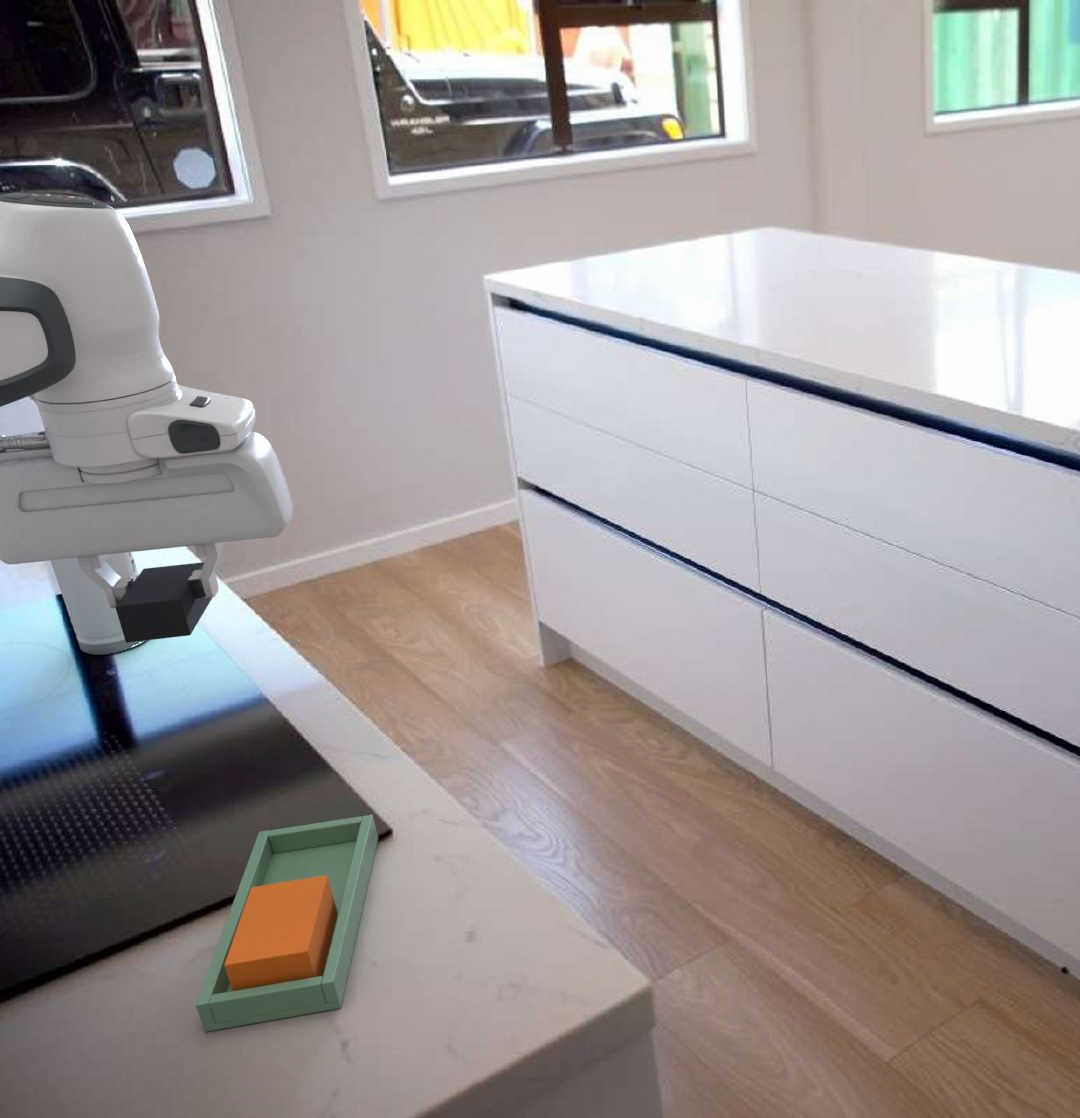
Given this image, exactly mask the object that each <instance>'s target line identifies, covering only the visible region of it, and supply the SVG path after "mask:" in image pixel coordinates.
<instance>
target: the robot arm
mask: <svg viewBox="0 0 1080 1118" xmlns="http://www.w3.org/2000/svg"><path fill="white" fill-rule="evenodd" d="M30 396H34V399H35V403H36V405H37V409H38V412H39V415H40V419H41V422H42V425H43V428H44V430H43V431H35V432H25V433H21V434H16V435H6V436H5V435H0V561H1V562H3V563H4V564H6V565H20V564H30V563H38V562H48V561H50V560H60V559H69V558H78V562H79V565H80V568H81V571H82V572H84V573H85V574H86V575H87V576H88V577H89V578H91V579H92V580H93V581H94V582H95V583H96V584H97V585H99V586H100V587H101V588H102V589H104V590H105V593H106V596H107V599H108V603H109V606H110V607H111V608H115V606H116V605H117V604H118V602H119V601H120V600H121V598H122V597H123V596H124V594H125V593H126V592H127V591H128V589H129V588H130V586H131V585H132V584H133V583H134V581H133V578H132V577H128V578H121V577H120V576H119V575H118V574H117V573H116V572H115V571H114V570H113V569H112V568H111V567H110V566H109V565H108V564H107V563H106V562H105V561H106V560H107V559H108V557H109V556H110V554H117V553H127V552H132V553H134V552H135V553H136V552H145V551H154V550H155V551H156V550H165V549H173V548H183V547H192V546H193V547H194V549H195V553H196V556H197V557H198V558H205V561H204V566H203V568H202V570H194V571H193V573H192V576H190V577H189V579H188V583H189V585H190V587H191V589H192V590H193V591H192V594H193V597H194V598H195V599H200V598H209V597H213V598H214V597H215V598H216V595H217V594H218V593H219V582H218V580H217V574H216V568H217V565H218V563H219V560H220V557H221V555H222V552H223V549H224V546H225V543H229V542H230V543H231V542H240V541H241V542H242V541H249V540H260V539H268V538H269V539H270V538H276V537H278V536H280V535H281V534H282V533H283V532H284V530H285V529H286V527H287V526H288V525H289V523H290V521H291V519H292V518H293V512H294V507H293V502H292V501H293V500H292V497H291V494H290V489H289V485H288V483H287V479H286V477H285V474H284V471H283V469H282V466H281V464H280V461H279V459H278V456H277V454H276V452H275V450H274V448H273V446H272V445H271V443H270V442H269V441H268V440H267V438H265V437H264V436H263V435H261V434H260V433H257V432H256V431H253V429H254V427H255V423H256V420H257V418H256V417H257V416H256V409H255V407H254V405H253V403H252V402H251V401H250V400H249V399H246V398H243V397H239V396H234V395H228V394H223V393H217V392H213V391H208V390H202V389H198V388H192V387H189V386H184V385H180V384H178V382H177V377H176V374H175V371H174V368H173V366H172V365H171V363H170V361H169V359H168V358H167V356H166V355H165V352H164V350H163V348H162V344H161V340H160V312H159V309H158V304H157V301H156V297H155V294H154V290H153V287H152V284H151V279H150V277H149V273H148V270H147V268H146V265H145V262H144V259H143V256H142V253H141V250H140V248H139V246H138V243H137V241H136V238H135V236H134V233H133V232H132V230H131V228H130V226H129V224H128V222H127V220H126V219H125V217H124V216H123V215H122V214H121V213H120V212H118V211H117V210H116V209H115V208H114V207H112V206H110V205H109V204H106V203H105V202H102V201H100V200H98V199H94V198H90V197H85V196H81V195H77V196H76V195H67V194H63V193H46V192H11V193H4V194H0V408H1V407H4V406H6V405H9V404H12V403H15V402H18V401H20V400H23V399H26V398H27V397H30ZM50 562H51V561H50Z"/></svg>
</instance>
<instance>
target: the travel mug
mask: <svg viewBox="0 0 1080 1118" xmlns="http://www.w3.org/2000/svg"><path fill="white" fill-rule="evenodd" d="M133 555H134V554H133V552H127V553H117V554H110V556H109V557H108V559H107V560H106V561H105V562H106V563H107V564H108V565H109V566H110V567H111V568H112V569H113V570H114V571H115V572H116V573H117V574H118V575H119V576H120V577H121V578H128V577H132V578H133V581H135V580H136V578H137V577H138V576H139V572H138V569H137V566H136V561H135V559H134V556H133ZM50 564H51V566H52V569H53V573H54V575H55V578H56V581H57V584H58V587H59V590H60V592H61V596H62V598H63V602H64V604H65V606H66V611H67V613H68V616H69V619H70V621H71V625H72V628H73V631H74V633H75V636H76V640H77V643H78V646H79V648H80V650H81V651H82V652H84V653H86V654H89V655H94V656H106V655H112V654H111V653H114V654H118V653H117V652H119V651H122V652H124V651H123V650H125V649H128V648H131V647H132V646H133V645H136V644H139V642H143V641H137V642H128V643H126V641H125V638H124V634H123V631H122V628H121V625H120V621H119V618H118V615H117V611H116V608H111V607H110V606H109V603H108V599H107V596H106V593H105V590H104V589H102V588H101V587H100V586H99V585H97V584H96V583H95V582H94V581H93V580H92V579H91V578H89V577H88V576H87V575H86V574H85V573H84V572H82V571H81V568H80V565H79V562H78V558H69V559H60V560H50ZM119 653H120V652H119Z"/></svg>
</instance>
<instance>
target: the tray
mask: <svg viewBox="0 0 1080 1118" xmlns="http://www.w3.org/2000/svg"><path fill="white" fill-rule="evenodd" d="M378 841H379V834H378V831H377V826H376V823H375V820H374V815H373V814H369V815H363V816H354V817H348V818H341V819H335V820H328V821H322V822H315V823H309V824H304V825H295V826H290V827H289V826H288V827H283V828H277V829H271V830H269V829H268V830H263V831H259V832H258V834H257V837H256V839H255V842H254V844H253V847H252V850H251V853H250V856H249V858H248V860H247V864H246V867H245V869H244V872H243V875H242V877H241V880H240V883H239V885H238V888H237V891H236V894H235V897H234V899H233V901H232V905H231V908H230V910H229V913H228V916H227V919H226V921H225V924H224V927H223V930H222V932H221V935H220V938H219V940H218V943H217V946H216V949H215V952H214V954H213V957H212V960H211V963H210V965H209V968H208V970H207V973H206V976H205V979H204V981H203V984H202V987H201V990H200V992H199V995H198V998H197V1001H196V1003H195V1008H196V1010H197V1014H198V1016H199V1020H200V1022H201V1025H202V1028H203V1030H204V1031H203V1032H204V1033H208V1032H213V1031H219V1030H224V1029H225V1030H226V1029H229V1028H230V1029H231V1028H236V1027H242V1026H247V1025H252V1024H258V1023H264V1022H270V1021H275V1020H281V1019H286V1018H287V1019H288V1018H293V1017H298V1016H305V1015H310V1014H315V1013H321V1012H327V1011H333V1010H338V1009H341V1008H342V1005H343V1000H344V996H345V992H346V987H347V982H348V977H349V973H350V968H351V963H352V959H353V955H354V950H355V947H356V941H357V937H358V932H359V927H360V923H361V918H362V914H363V909H364V905H365V901H366V896H367V891H368V887H369V884H370V883H369V882H370V879H371V874H372V869H373V865H374V860H375V855H376V851H377V847H378ZM326 875H327V876H328V879H329V883H330V887H331V890H332V894H333V898H334V901H335V905H336V909H337V912H338V914H337V918H336V922H335V926H334V930H333V934H332V938H331V942H330V947H329V951H328V955H327V959H326V963H325V967H324V971H323V975H322V976H319V977H313V978H307V979H301V980H295V981H289V982H284V983H278V984H272V985H266V986H260V987H254V988H249V989H243V990H237V991H233V990H232V987H231V984H230V981H229V978H228V975H227V972H226V969H225V966H224V965H225V962H226V959H227V956H228V953H229V950H230V947H231V945H232V942H233V939H234V936H235V933H236V930H237V927H238V924H239V922H240V919H241V916H242V913H243V910H244V907H245V904H246V901H247V899H248V896H249V893H250V890H251V888H252V887H257V886H264V885H270V884H276V883H282V882H288V881H295V880H301V879H307V878H313V877H319V876H326Z"/></svg>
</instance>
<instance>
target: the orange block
mask: <svg viewBox="0 0 1080 1118" xmlns="http://www.w3.org/2000/svg"><path fill="white" fill-rule="evenodd" d="M337 914H338V912H337V909H336V905H335V901H334V898H333V894H332V890H331V887H330V883H329V879H328V876H327V875H326V876H319V877H313V878H307V879H301V880H295V881H288V882H282V883H276V884H270V885H264V886H257V887H252V888H251V890H250V893H249V896H248V899H247V901H246V904H245V907H244V910H243V913H242V916H241V919H240V922H239V924H238V927H237V930H236V933H235V936H234V939H233V942H232V945H231V947H230V950H229V953H228V956H227V959H226V962H225V965H224V966H225V969H226V972H227V975H228V978H229V981H230V984H231V987H232V990H233V991H237V990H243V989H249V988H254V987H260V986H266V985H272V984H278V983H284V982H289V981H295V980H301V979H307V978H313V977H319V976H322V975H323V971H324V967H325V963H326V959H327V955H328V951H329V947H330V942H331V938H332V934H333V930H334V926H335V922H336V918H337Z"/></svg>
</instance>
